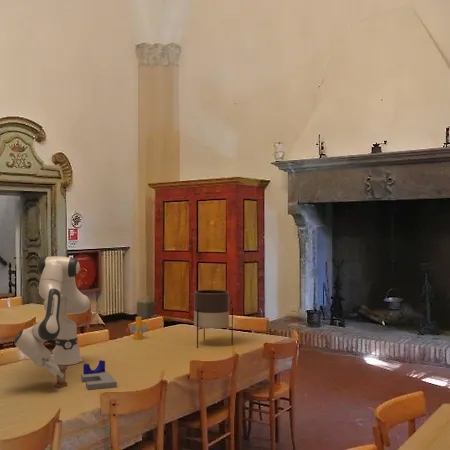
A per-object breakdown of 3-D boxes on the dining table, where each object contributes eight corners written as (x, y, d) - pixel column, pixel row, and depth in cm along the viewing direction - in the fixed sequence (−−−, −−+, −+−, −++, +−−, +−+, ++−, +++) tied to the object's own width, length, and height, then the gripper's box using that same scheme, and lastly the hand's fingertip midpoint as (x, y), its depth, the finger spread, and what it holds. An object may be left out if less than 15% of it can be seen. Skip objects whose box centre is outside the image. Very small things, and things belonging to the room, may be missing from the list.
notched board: (81, 379, 303) (81, 374, 303) (108, 377, 309) (108, 372, 309) (87, 389, 285) (87, 384, 285) (116, 387, 290) (116, 382, 290)
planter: (216, 350, 375) (217, 295, 375) (184, 346, 388) (184, 292, 388) (237, 343, 398) (237, 291, 397) (206, 339, 411) (206, 288, 411)
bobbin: (54, 384, 293) (54, 366, 293) (66, 383, 295) (66, 365, 295) (55, 387, 288) (56, 368, 288) (67, 386, 290) (67, 367, 290)
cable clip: (88, 376, 310) (89, 365, 310) (83, 375, 312) (83, 364, 312) (106, 372, 319) (106, 361, 319) (101, 371, 322) (101, 360, 322)
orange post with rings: (150, 338, 413) (150, 316, 413) (140, 340, 404) (140, 318, 404) (136, 336, 419) (136, 315, 419) (126, 338, 411) (127, 317, 410)
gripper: (49, 356, 279) (70, 375, 283) (44, 347, 298) (64, 365, 302) (39, 366, 278) (60, 385, 282) (35, 357, 297) (55, 375, 300)
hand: (62, 375), depth 292 cm, fingers closed on bobbin, 4 cm apart
